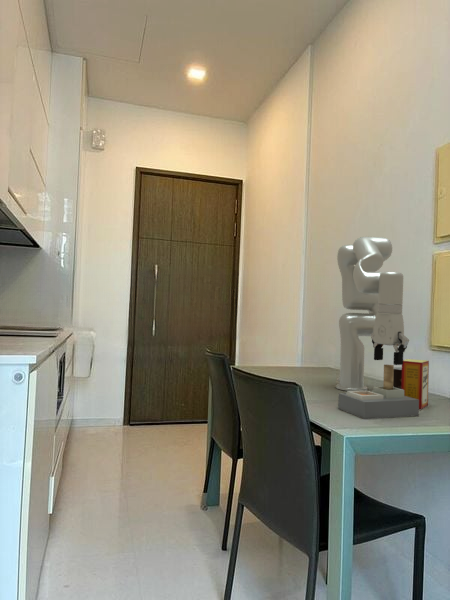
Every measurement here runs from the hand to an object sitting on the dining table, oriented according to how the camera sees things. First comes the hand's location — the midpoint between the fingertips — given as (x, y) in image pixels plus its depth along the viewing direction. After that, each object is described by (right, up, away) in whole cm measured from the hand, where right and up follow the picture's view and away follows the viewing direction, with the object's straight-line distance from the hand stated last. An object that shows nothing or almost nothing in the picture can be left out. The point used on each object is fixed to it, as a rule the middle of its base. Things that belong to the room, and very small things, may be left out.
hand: (387, 362), depth 146 cm
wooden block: (0, -11, -1) cm, 11 cm away
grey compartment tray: (-4, -16, -3) cm, 16 cm away
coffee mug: (+19, -17, +32) cm, 41 cm away
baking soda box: (+13, -17, +10) cm, 23 cm away
